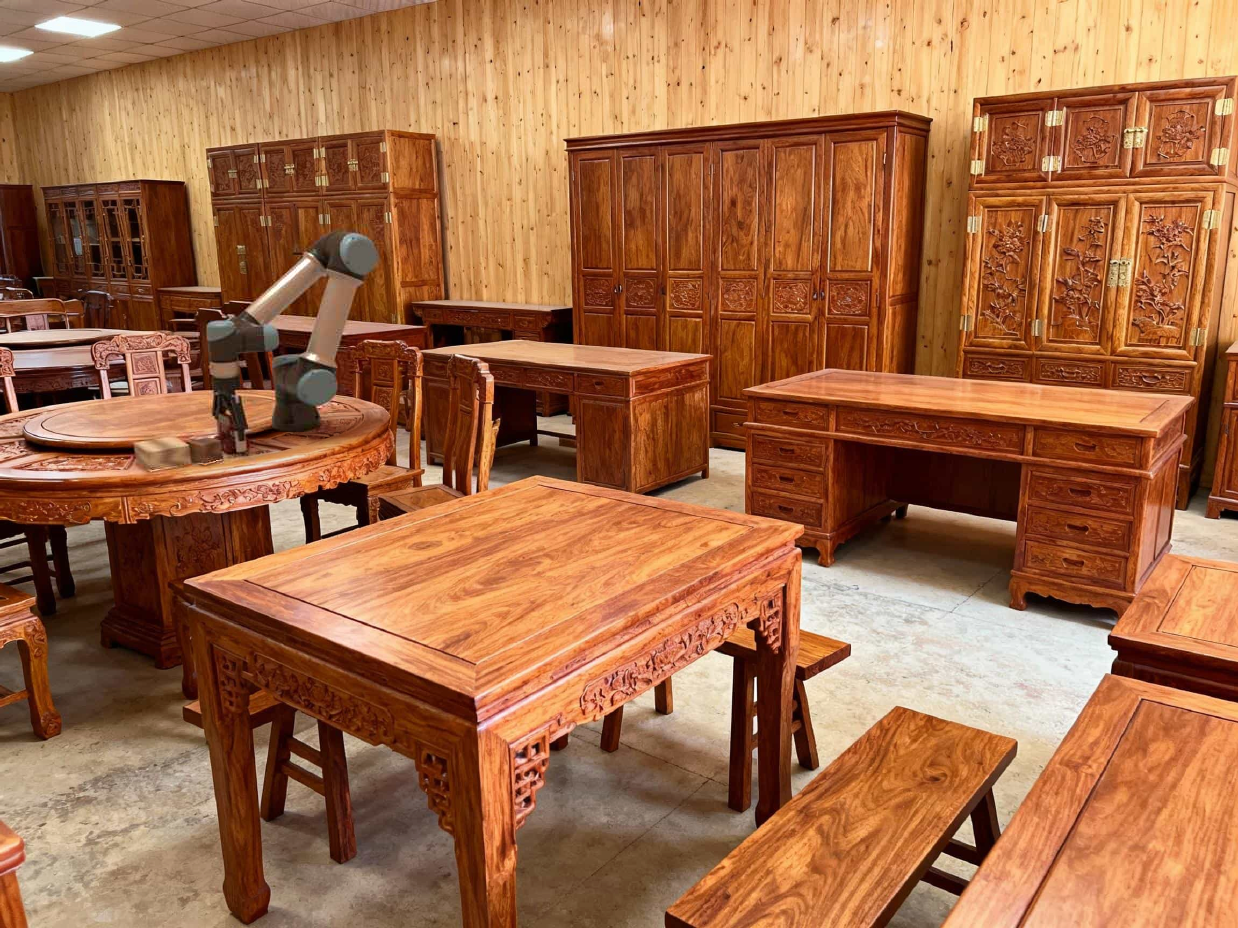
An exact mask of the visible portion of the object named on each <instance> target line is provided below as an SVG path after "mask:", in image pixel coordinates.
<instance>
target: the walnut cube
mask: <svg viewBox="0 0 1238 928" xmlns="http://www.w3.org/2000/svg"><path fill="white" fill-rule="evenodd" d="M188 445H189V448H190V456H191V463H193V462H196V463H195V464H197V463H204V464H205V463H209V462H213V461H216V460H220V459H223V460H224V457H223V449H222V447H221V441H220V440H216V439H214V437H213V438H212V437H208V436H205V437H202V438H198V439H194V440H191V441H188Z"/></svg>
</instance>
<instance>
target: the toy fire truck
mask: <svg viewBox="0 0 1238 928" xmlns="http://www.w3.org/2000/svg"><path fill="white" fill-rule="evenodd" d="M218 420H219V425H220V435H215V436H214V437H213V439H216V440H220V441H221V447H222V452H223V453H224V454H230V453H233V450H236V442H235V432H234V429H235V426H234V423H233V420H232V418H231V415H230V413H227V412H226V413H224V412H222V413H219V414H218ZM245 438H246V449H247V450H248V449H250V447H251V443H250V440H249V437H248V436H246V435H245Z"/></svg>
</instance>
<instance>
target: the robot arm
mask: <svg viewBox="0 0 1238 928" xmlns="http://www.w3.org/2000/svg"><path fill="white" fill-rule="evenodd" d="M378 254H379V253H378V250H377V247H376V246H375V243H374V242H373V241H372V240H371V239H370V238H369V237H367V236H365V235H363V234H360V233H357V232H350V231H345V230H333V231H330V232H328V233H325V234H324V235H323V236H321V237H320V238H318V240H316V241H315V242H314V243H313V244H312V245H310V246H309V247H308V248H307V249H306V250H305V251H303V254H302V255H303V257H302V258H301V259H300V260H299V261H297V263H295V265H294V266H292V267H291V268H290V269H289V270H288V271H287V272H286V273H284V274H283V275H282V276H281V277H280V278H279V279H278V280H277V281H276V282H275V283H274V284H272V285H271V286H270V287H269V288H268V289H266V291H265V292H263V293H262V294H260V295H259V297H258V298H257V299H255V300H254V302H252V303H250V304H249V306H247V308H246V309H244V310H243V311H242V312H241V313H240V314H238V315H237V316H232V317H229V318H228V319H225V320H214V321H210V322H208V323H207V325H206V341H207V350H208V356H209V365H208V368H209V370H210V374H211V375H212V376H211V387H212V389H213V390H212V391H213V397H212V398H213V400H212V410H211V416H212V417H214V420H215V422H216V433H217V434H216V436H218V435H220V425H219V420H218V414H219V413H222V412H224V413H227V411H228V412H229V415H231V418H232V420H233V423H234V426H235V429H234V432H235V442H236V449H235V451H236V453H242V452H246V451H247V450H248V449H246V438H245V436H246V430H249V425H248V422H247V421H248V420H247V417H246V414H245V409H244V407H243V402H242V396H241V395H237V393H236V390H238V389H239V388H240V387H241V379H240V375H239V374H240V367H239V366H240V365H239V357H238V354H246V353H256V352H268V351H273V350H277V348H278V347H279V344H280V337H279V332H278V329H277V327H276V326H275V325H273V324H270V323H272V322H273V320H274V319H276V318H277V317H278V316H279V315H280V314H281V313H282V312H284V310H285V309H287V308H288V307H289V306H290V305H291V304H292V303H293V302H294V301H295V300H297V299H298V298H299V297H300V296H301V295H302V294H303V293H304V292H306V291H307V290H308V289H309V288H310V287H311V286H312V285H313V284H314V283H315V282H316V281H318V280H319V279H320V278H321V277H327V276H328V279H327V283H326V287H325V289H324V293H323V296H322V299H321V303H320V306H319V310H318V312H317V316H316V319H315V323H314V325H313V329H312V332H311V335H310V339H309V342H308V345H307V349H306V351H304V352H302V353H297V354H296V353H295V354H284V355H279V356H275V357H273V359H272V367H271V369H272V376H273V387H274V396H275V397H274V398H275V399H274V400H275V405H274V408H273V412H272V416H271V421H270V422H271V426H272V425H273V427H272V428H273V429H275V430H278V431H282V432H283V431H284V432H301V431H303V432H304V431H308V430H313V429H316V428H318V427H320V426H321V425H322V418H321V415H320V413H319V410H318V408H317V407H319V406H322V405H325V404H327V403H329V402H331V400H333V398H334V397H335V395H336V394H337V391H338V380H337V378H336V373H337V369H338V365H337V363H336V361H335V358H336V356H337V353H338V349H339V346H340V343H341V341H342V337H343V332H344V331H345V326H346V323H347V320H348V316H349V314H350V310H351V307H352V303H353V301H354V297H355V294H356V290H357V288H358V287H359V286H361V285H363V284H364V283H365V279H366V277H367V275H368V274H369V273H370V272H372V271H373V270H374V269H375V268H376V266H377V263H378V258H379V257H378Z"/></svg>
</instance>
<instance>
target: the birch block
mask: <svg viewBox="0 0 1238 928" xmlns="http://www.w3.org/2000/svg"><path fill="white" fill-rule="evenodd" d="M133 449H134V455H135V462H136V464H138V465H139V466H140V465H141V466H140V467H142V466H143V467H145V468H146V469H149V470H155V469H163V468H166V467H173V466H180V465H186V464H191V465H192V462H191V456H190V448H189V443H186V442H185V441H183V440H181V439H180V438H178V437H177V436H175V435H173V436H167V437H161V438H156V439H150V440H144V441H139V442H138V441H137V442H133ZM143 467H142V468H143ZM145 468H144V469H145ZM146 469H145V470H146Z"/></svg>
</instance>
